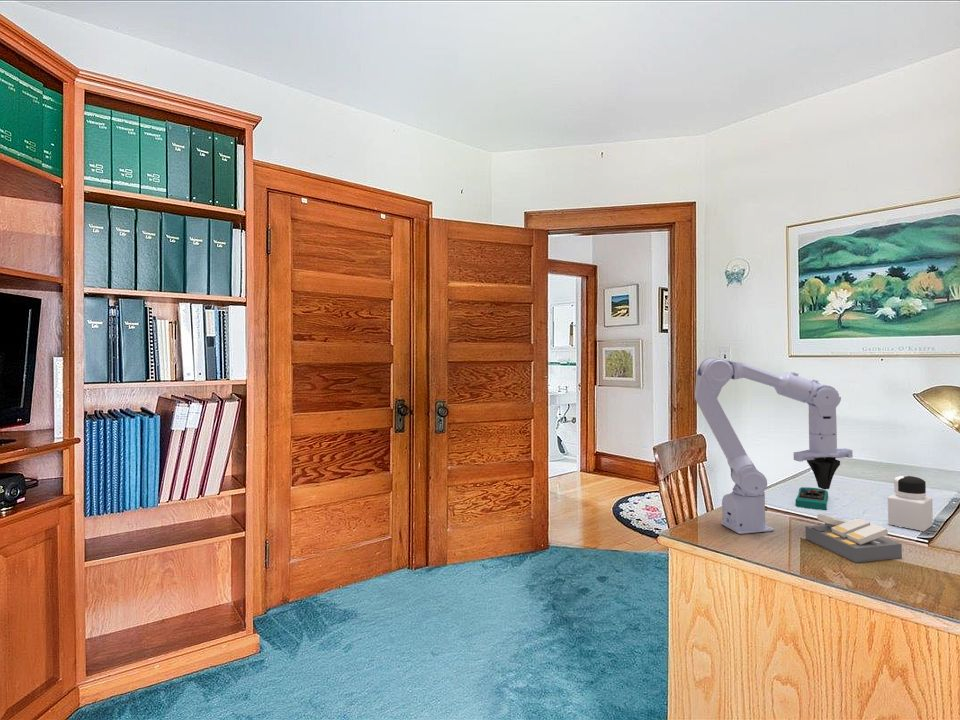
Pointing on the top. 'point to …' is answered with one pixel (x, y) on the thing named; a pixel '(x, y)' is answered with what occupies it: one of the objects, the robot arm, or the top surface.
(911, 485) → the medicine bottle
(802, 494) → the digital multimeter
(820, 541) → the switch unit
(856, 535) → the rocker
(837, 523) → the rocker
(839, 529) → the rocker
